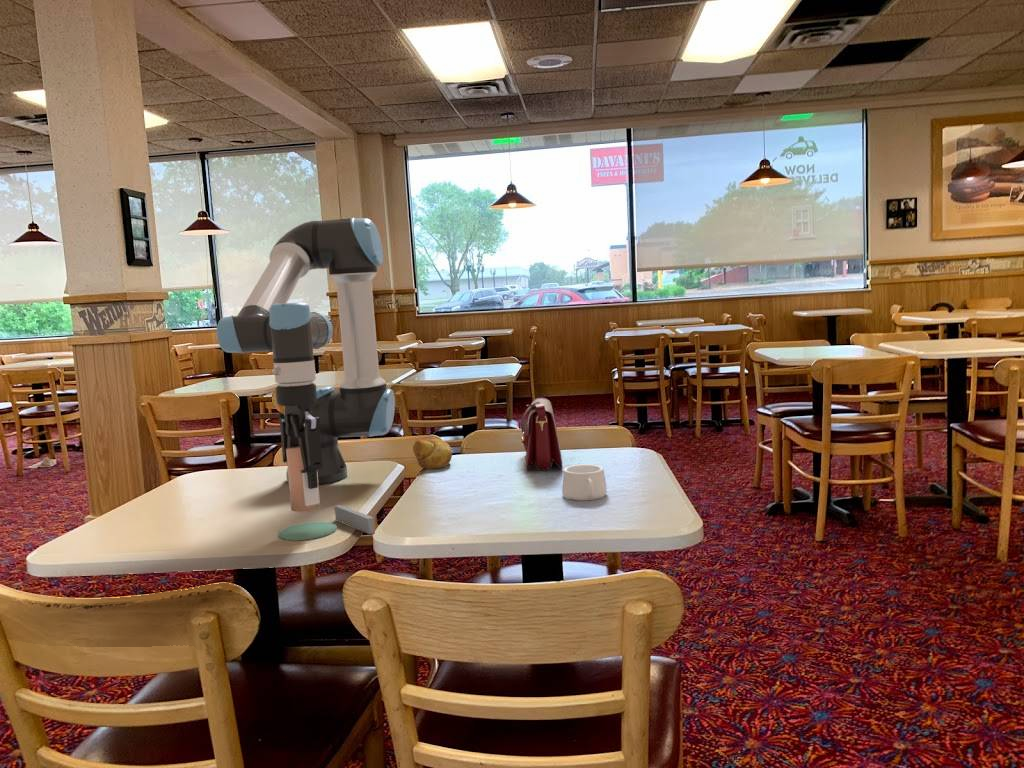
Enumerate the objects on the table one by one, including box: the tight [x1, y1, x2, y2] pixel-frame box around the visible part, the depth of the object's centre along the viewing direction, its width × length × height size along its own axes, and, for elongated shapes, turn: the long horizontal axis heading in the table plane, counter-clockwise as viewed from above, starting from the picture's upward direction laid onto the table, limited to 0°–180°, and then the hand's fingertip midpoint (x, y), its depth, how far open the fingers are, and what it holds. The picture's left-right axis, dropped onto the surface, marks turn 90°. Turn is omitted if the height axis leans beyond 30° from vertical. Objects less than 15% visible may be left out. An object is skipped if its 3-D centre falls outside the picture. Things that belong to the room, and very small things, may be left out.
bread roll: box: [412, 438, 453, 470], centre depth 203 cm, size 13×10×8 cm
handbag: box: [520, 397, 563, 471], centre depth 199 cm, size 28×11×17 cm, turn 178°
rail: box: [334, 504, 376, 535], centre depth 150 cm, size 14×1×3 cm, turn 40°
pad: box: [278, 520, 338, 542], centre depth 148 cm, size 11×11×1 cm
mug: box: [561, 464, 608, 502], centre depth 163 cm, size 12×10×6 cm
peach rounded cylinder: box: [286, 446, 321, 513], centre depth 147 cm, size 6×6×12 cm
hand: (305, 501), depth 148 cm, fingers closed on peach rounded cylinder, 5 cm apart
